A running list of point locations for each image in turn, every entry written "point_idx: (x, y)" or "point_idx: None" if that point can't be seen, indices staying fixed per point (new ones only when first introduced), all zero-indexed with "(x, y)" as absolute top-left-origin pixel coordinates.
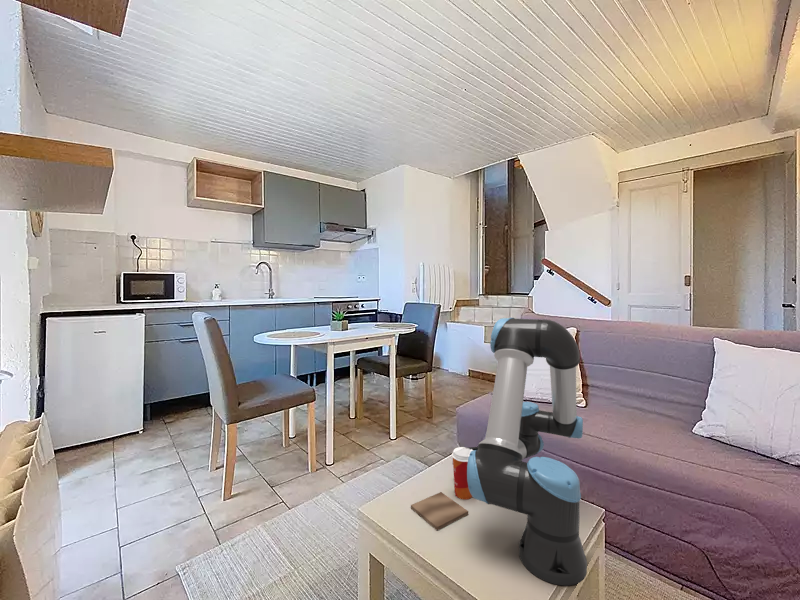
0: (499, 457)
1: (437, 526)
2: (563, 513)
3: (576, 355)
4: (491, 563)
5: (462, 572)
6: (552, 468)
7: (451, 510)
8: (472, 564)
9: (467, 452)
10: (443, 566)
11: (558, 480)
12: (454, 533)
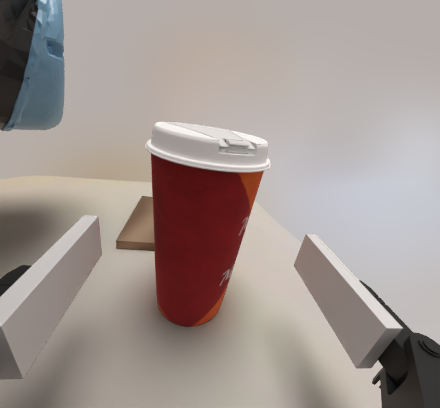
0: None
1: (142, 196)
2: None
3: None
4: (9, 200)
5: (60, 182)
6: None
7: (153, 224)
8: (48, 190)
9: (196, 129)
10: (91, 180)
11: None
12: (112, 208)
